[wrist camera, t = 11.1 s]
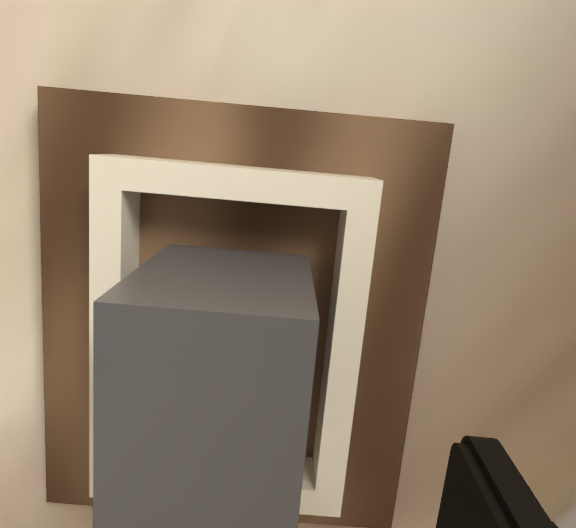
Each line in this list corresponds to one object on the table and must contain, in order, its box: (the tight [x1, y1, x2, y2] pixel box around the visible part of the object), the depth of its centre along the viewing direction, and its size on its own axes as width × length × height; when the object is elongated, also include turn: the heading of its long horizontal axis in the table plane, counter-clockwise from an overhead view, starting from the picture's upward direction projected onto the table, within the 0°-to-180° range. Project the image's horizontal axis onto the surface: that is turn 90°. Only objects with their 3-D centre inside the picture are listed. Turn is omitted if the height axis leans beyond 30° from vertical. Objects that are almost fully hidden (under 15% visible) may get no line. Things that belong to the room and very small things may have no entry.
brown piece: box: [37, 86, 454, 528], centre depth 18 cm, size 14×16×3 cm
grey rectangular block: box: [93, 244, 320, 528], centre depth 15 cm, size 5×7×7 cm
